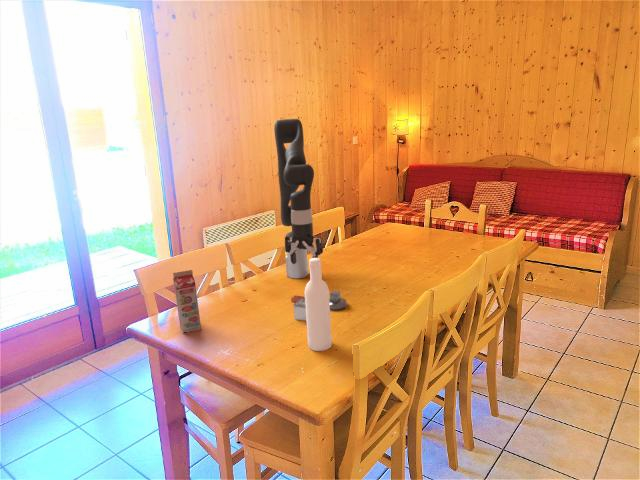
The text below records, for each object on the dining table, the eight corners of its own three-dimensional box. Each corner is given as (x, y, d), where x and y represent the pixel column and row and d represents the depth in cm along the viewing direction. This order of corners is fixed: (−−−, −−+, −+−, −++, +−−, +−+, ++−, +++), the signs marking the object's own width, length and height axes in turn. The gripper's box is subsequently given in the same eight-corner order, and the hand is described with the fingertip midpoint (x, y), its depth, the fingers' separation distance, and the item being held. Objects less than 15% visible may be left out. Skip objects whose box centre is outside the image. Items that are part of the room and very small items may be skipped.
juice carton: (180, 326, 181) (171, 270, 175) (198, 322, 184) (190, 267, 178) (182, 333, 175) (174, 275, 169) (201, 329, 178) (193, 272, 172)
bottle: (331, 339, 165) (327, 254, 157) (332, 350, 157) (328, 262, 149) (307, 340, 165) (302, 256, 157) (308, 352, 157) (302, 264, 149)
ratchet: (288, 304, 196) (287, 290, 194) (298, 296, 203) (297, 283, 201) (341, 312, 186) (340, 297, 184) (349, 303, 193) (349, 289, 191)
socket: (294, 319, 182) (293, 304, 180) (301, 313, 187) (300, 298, 185) (308, 321, 179) (307, 306, 178) (314, 315, 184) (313, 300, 183)
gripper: (279, 222, 173) (282, 265, 178) (315, 224, 167) (317, 269, 171) (289, 217, 180) (292, 259, 184) (324, 219, 174) (326, 263, 178)
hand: (304, 264), depth 178 cm, fingers open, 8 cm apart
